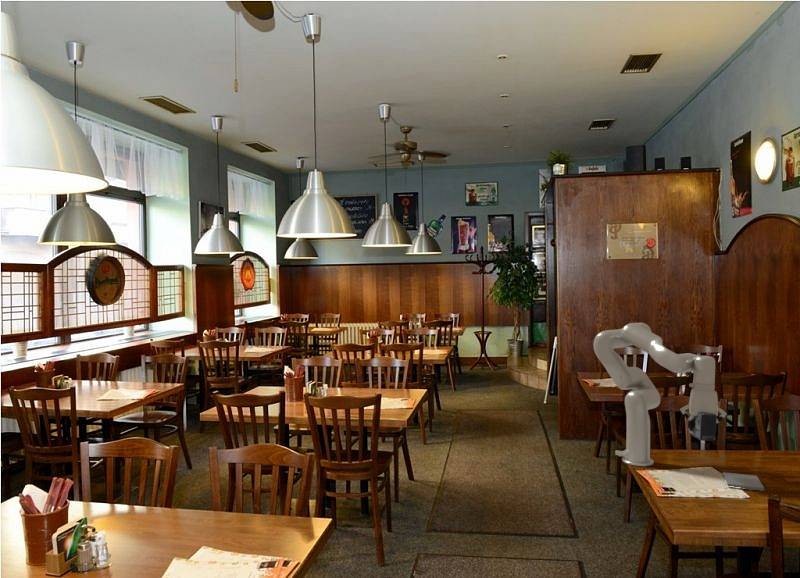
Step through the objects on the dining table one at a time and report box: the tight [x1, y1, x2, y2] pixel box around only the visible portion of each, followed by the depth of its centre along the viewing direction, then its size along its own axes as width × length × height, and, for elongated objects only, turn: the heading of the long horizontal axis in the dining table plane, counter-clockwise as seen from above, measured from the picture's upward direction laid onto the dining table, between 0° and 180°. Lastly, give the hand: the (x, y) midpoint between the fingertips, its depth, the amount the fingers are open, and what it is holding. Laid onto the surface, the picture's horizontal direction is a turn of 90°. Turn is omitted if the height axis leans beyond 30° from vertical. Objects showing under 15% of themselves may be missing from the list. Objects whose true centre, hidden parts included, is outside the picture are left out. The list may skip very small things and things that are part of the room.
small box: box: [688, 413, 718, 442], centre depth 242 cm, size 11×6×10 cm, turn 178°
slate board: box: [722, 471, 765, 492], centre depth 237 cm, size 12×15×2 cm
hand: (702, 431), depth 242 cm, fingers closed on small box, 7 cm apart
